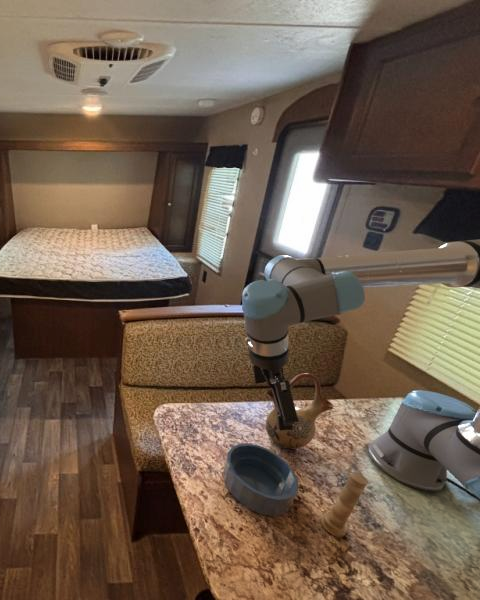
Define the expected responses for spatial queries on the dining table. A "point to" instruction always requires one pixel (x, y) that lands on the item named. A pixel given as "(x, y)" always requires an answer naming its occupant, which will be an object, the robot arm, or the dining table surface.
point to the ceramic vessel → (306, 418)
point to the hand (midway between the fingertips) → (272, 403)
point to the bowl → (260, 479)
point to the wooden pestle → (344, 505)
